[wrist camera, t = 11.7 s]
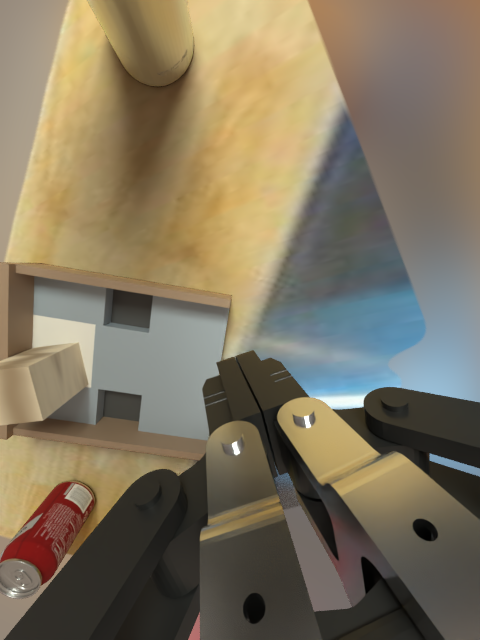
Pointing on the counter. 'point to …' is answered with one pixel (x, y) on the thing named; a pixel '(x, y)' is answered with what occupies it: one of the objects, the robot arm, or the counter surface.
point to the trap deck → (118, 355)
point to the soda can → (44, 540)
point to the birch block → (39, 382)
